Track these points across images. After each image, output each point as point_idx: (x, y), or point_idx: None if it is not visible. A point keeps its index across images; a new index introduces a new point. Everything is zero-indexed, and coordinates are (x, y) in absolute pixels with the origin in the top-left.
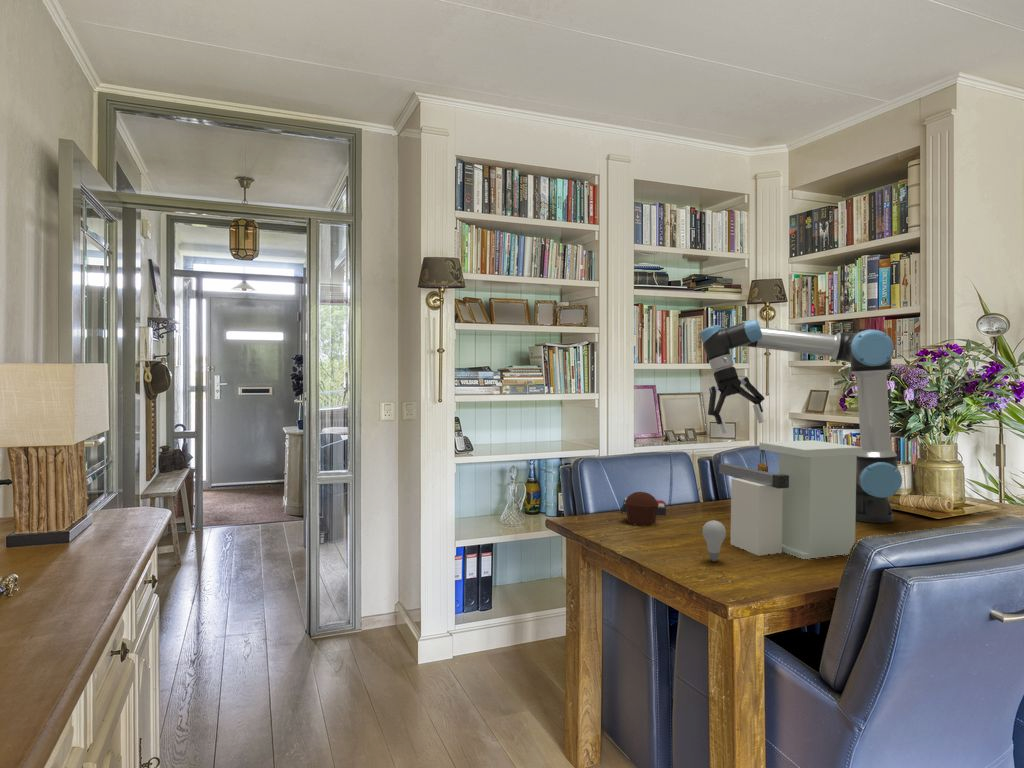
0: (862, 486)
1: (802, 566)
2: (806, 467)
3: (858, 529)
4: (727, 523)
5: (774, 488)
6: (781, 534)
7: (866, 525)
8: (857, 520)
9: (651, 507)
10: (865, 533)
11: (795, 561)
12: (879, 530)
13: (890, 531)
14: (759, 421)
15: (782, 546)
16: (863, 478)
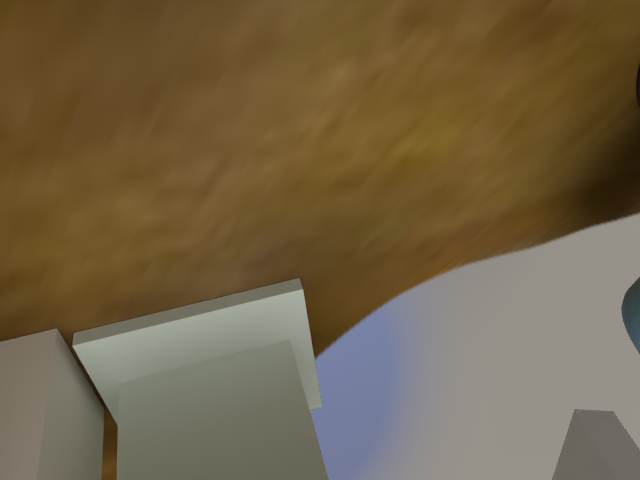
0: (632, 303)
1: (108, 477)
2: None
3: (527, 195)
4: (43, 65)
5: None
6: (100, 458)
7: (603, 148)
8: (638, 92)
9: None
10: (501, 239)
11: (109, 453)
12: (575, 209)
13: (592, 220)
14: (574, 467)
15: (113, 412)
16: (637, 350)
